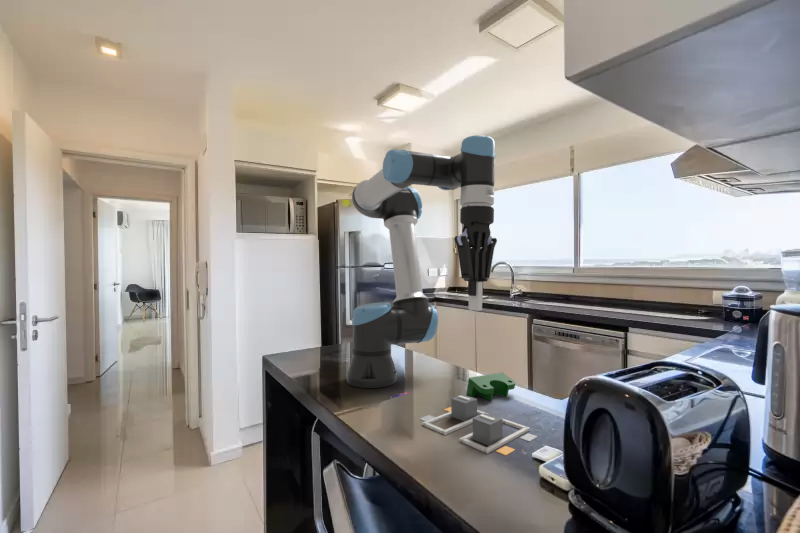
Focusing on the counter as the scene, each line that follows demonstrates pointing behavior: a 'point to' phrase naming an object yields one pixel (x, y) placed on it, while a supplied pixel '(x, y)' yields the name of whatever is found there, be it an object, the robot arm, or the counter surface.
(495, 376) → the green notched bracket
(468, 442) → the switch board
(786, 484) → the counter surface
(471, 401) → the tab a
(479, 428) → the grey cube
